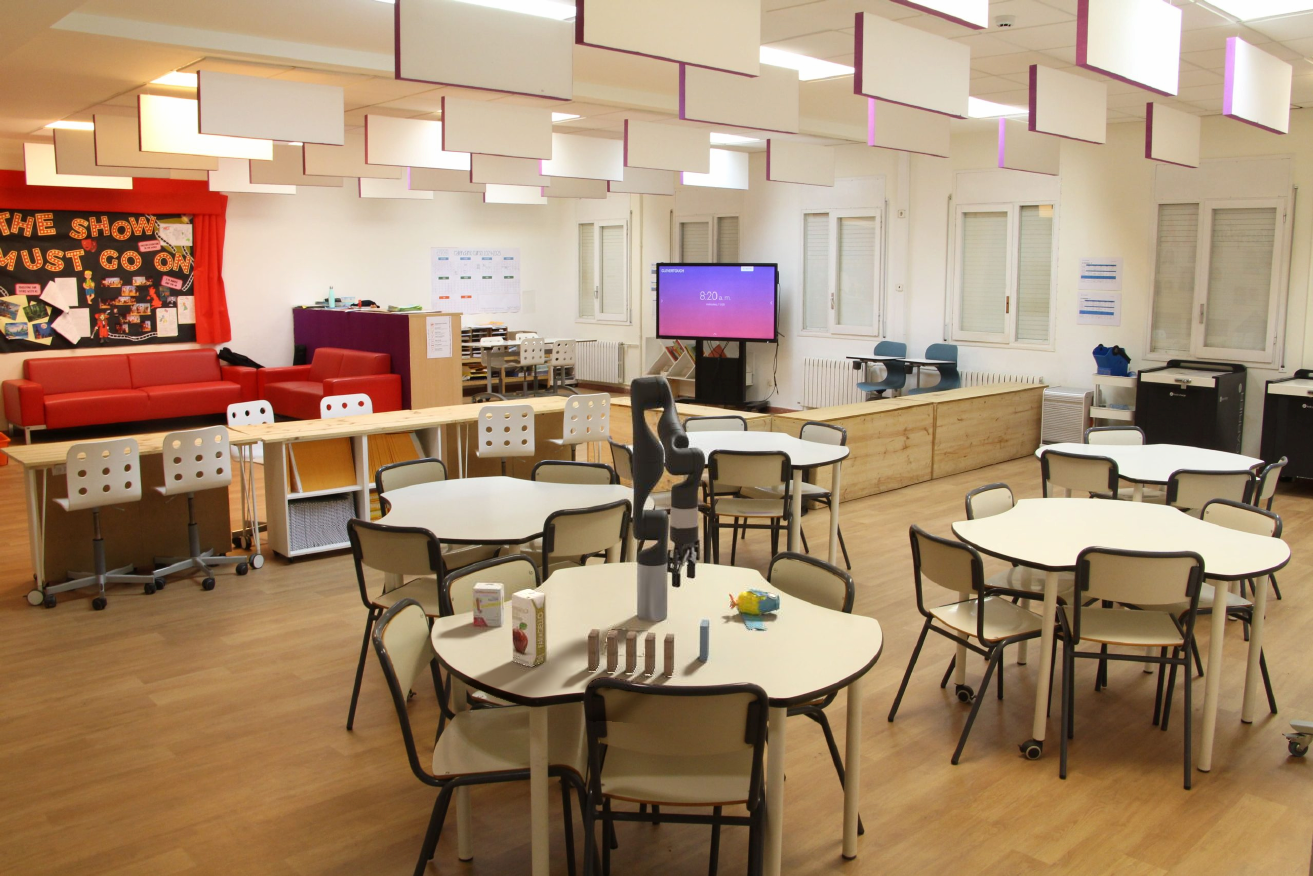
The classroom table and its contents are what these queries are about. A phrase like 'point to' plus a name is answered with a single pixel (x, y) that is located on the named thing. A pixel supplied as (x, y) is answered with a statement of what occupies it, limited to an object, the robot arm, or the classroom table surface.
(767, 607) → the toy airplane
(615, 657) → the domino
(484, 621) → the ink box
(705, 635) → the blue domino
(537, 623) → the juice carton
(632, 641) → the domino
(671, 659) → the domino
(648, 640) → the domino
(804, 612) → the classroom table surface
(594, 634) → the domino
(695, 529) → the robot arm
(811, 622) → the classroom table surface
